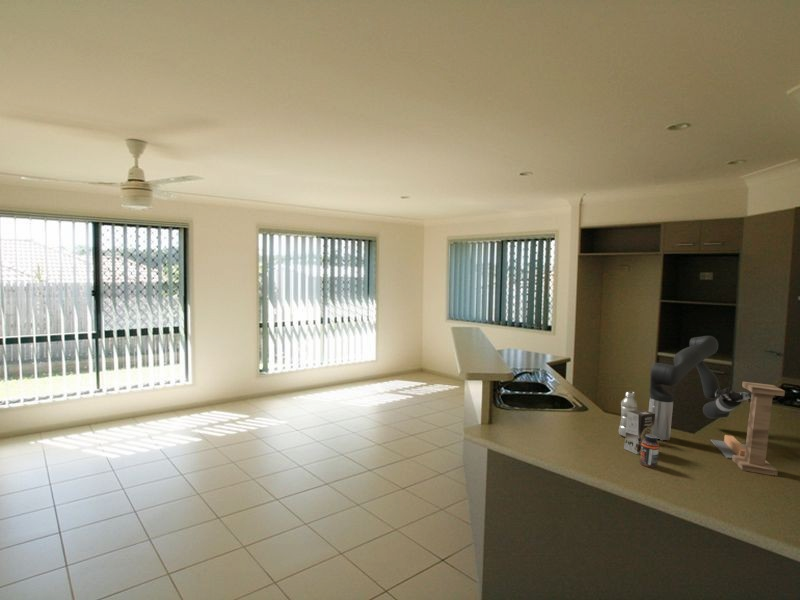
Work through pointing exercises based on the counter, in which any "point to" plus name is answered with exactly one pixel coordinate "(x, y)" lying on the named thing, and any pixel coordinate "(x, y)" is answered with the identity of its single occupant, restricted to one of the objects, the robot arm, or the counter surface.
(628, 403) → the plastic bottle
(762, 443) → the walnut stand
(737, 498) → the counter surface
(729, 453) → the rubber mat
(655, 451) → the supplement bottle
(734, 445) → the terracotta bar
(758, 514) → the counter surface
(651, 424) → the coffee box
